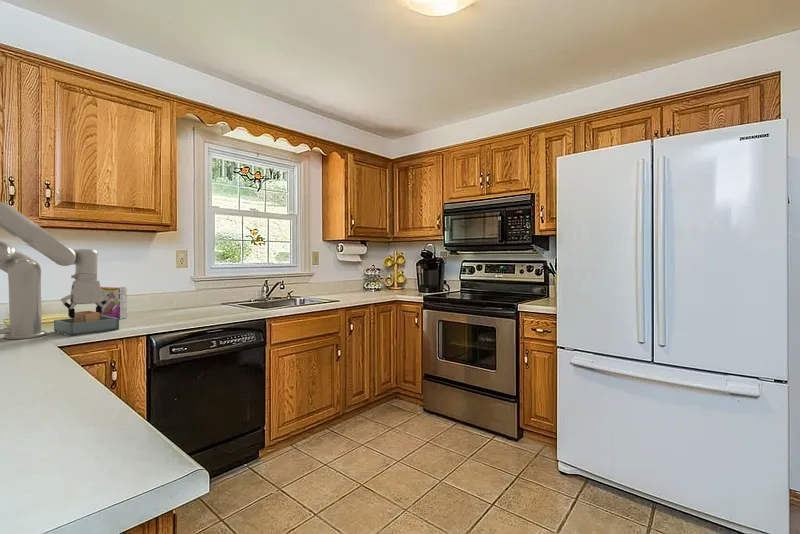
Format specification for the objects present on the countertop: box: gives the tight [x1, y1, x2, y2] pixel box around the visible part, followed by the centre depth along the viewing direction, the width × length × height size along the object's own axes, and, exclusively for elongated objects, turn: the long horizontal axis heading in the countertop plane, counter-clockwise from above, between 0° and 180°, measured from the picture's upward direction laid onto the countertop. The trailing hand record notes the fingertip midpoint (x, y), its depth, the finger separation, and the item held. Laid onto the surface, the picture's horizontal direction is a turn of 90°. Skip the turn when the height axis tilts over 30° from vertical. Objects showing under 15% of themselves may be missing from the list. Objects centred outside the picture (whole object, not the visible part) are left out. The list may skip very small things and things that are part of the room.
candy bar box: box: [100, 285, 128, 321], centre depth 209 cm, size 11×5×16 cm, turn 84°
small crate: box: [74, 310, 100, 323], centre depth 178 cm, size 6×10×7 cm, turn 58°
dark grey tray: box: [53, 315, 120, 337], centre depth 178 cm, size 18×16×5 cm
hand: (85, 316), depth 178 cm, fingers open, 9 cm apart
